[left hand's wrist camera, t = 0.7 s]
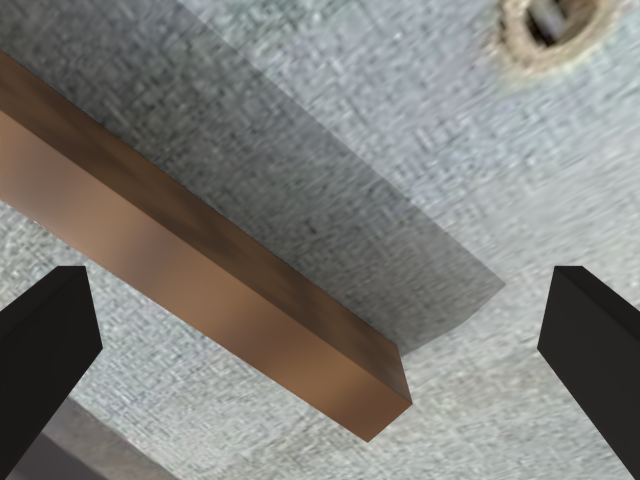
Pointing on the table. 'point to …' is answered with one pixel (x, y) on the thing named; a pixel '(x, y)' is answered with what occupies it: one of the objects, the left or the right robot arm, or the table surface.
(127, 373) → the table surface
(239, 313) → the post
